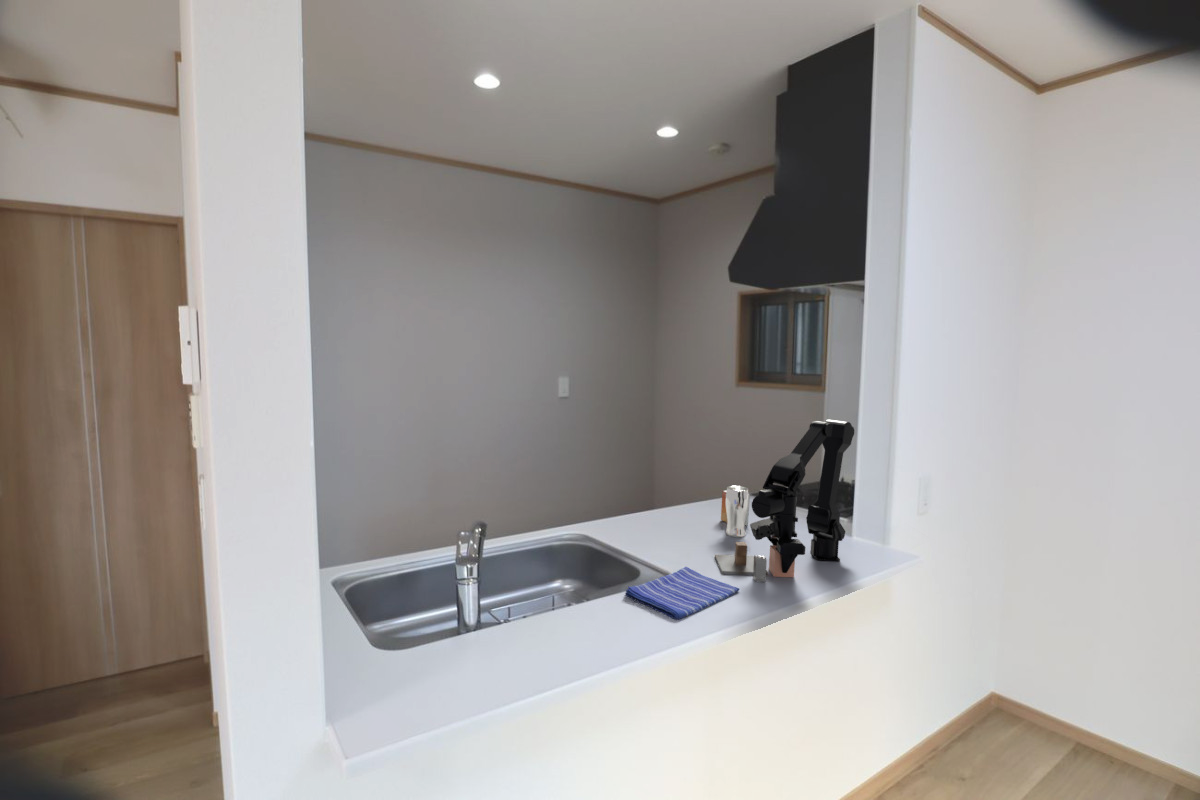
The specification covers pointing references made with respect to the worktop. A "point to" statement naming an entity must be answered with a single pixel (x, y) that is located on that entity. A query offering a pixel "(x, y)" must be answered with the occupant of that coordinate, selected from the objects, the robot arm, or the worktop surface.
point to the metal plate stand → (737, 561)
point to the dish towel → (681, 593)
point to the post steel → (759, 568)
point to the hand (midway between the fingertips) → (781, 568)
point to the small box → (723, 509)
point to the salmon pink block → (778, 564)
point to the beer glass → (736, 510)
